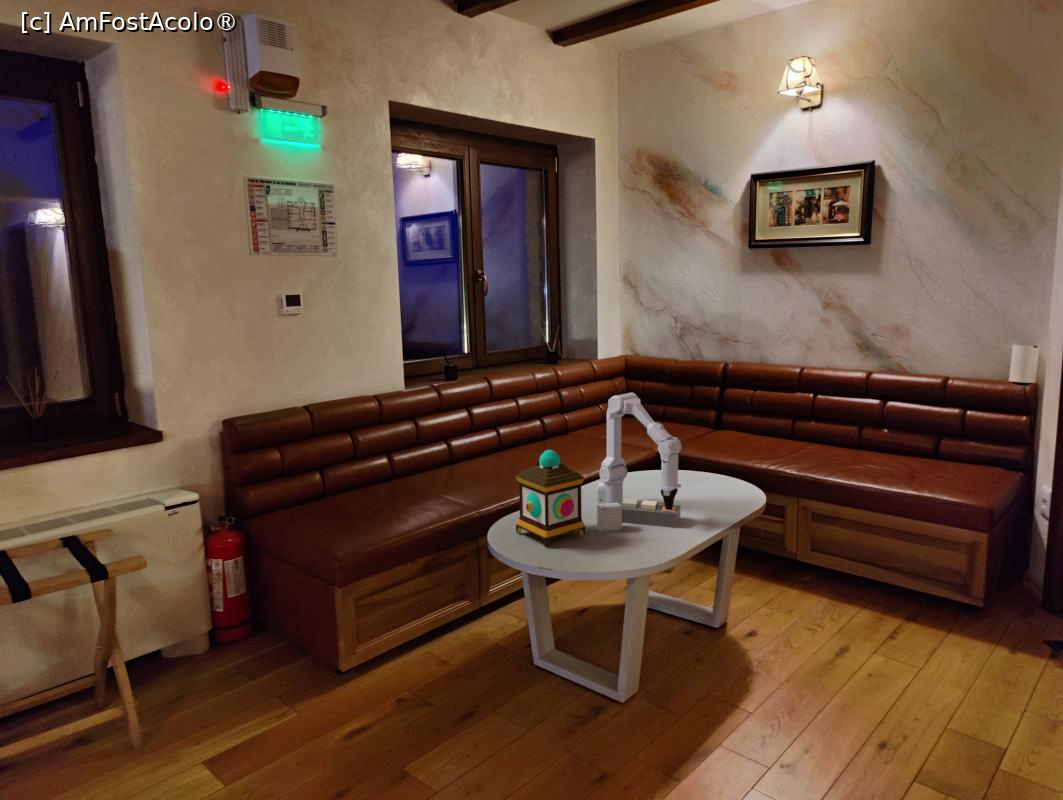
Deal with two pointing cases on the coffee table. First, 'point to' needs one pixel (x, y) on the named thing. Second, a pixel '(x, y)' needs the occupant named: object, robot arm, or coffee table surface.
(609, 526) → the medicine box
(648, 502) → the cream key
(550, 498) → the decorative lantern
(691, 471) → the coffee table surface
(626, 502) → the sage key
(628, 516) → the key panel
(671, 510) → the terracotta key
